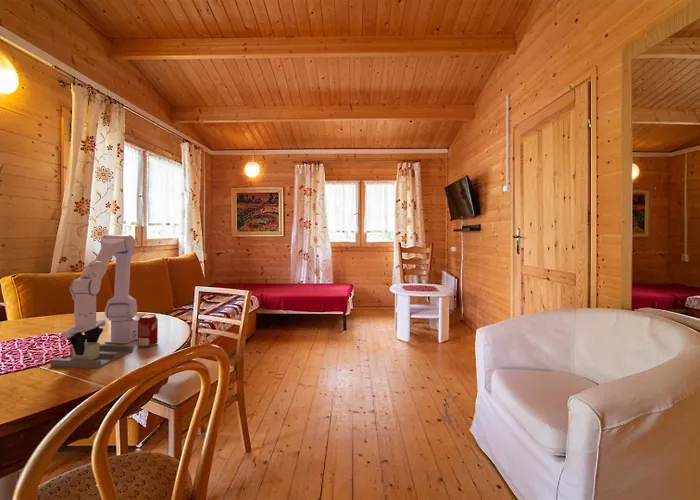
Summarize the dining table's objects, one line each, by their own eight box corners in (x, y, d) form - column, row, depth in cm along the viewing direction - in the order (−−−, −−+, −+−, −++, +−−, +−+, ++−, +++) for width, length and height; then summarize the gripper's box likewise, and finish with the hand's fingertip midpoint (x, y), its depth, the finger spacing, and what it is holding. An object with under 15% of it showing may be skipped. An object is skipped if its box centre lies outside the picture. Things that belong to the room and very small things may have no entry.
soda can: (147, 348, 123) (148, 318, 123) (133, 347, 124) (133, 316, 124) (161, 343, 130) (161, 314, 129) (147, 341, 131) (147, 313, 130)
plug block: (99, 356, 111) (99, 342, 110) (89, 361, 107) (89, 346, 106) (82, 355, 111) (82, 341, 111) (72, 360, 107) (72, 345, 107)
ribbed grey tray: (132, 351, 120) (132, 345, 120) (97, 368, 104) (97, 362, 104) (91, 349, 121) (91, 343, 121) (50, 366, 105) (50, 359, 105)
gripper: (92, 307, 115) (92, 344, 116) (53, 317, 101) (53, 359, 102) (110, 308, 115) (110, 345, 116) (74, 318, 101) (74, 360, 101)
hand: (85, 352), depth 109 cm, fingers closed on plug block, 4 cm apart
